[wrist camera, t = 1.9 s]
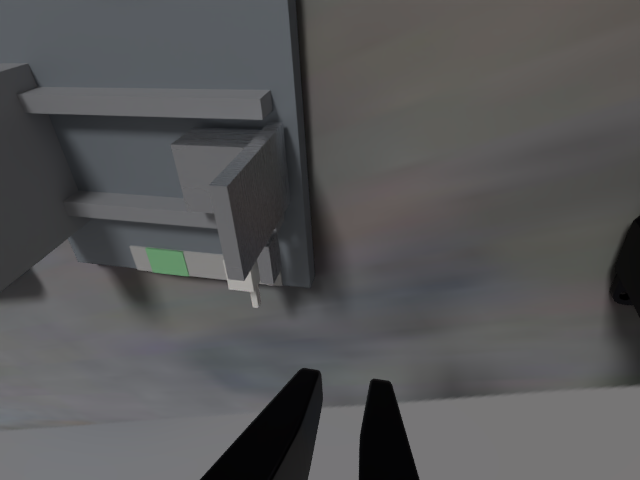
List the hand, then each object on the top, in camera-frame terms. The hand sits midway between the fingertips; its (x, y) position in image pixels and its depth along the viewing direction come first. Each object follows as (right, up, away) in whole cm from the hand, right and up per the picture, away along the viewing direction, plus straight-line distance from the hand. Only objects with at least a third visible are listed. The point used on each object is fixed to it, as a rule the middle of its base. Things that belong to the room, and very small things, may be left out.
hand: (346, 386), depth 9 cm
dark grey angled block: (-4, +5, +11) cm, 13 cm away
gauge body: (-8, +8, +12) cm, 16 cm away
